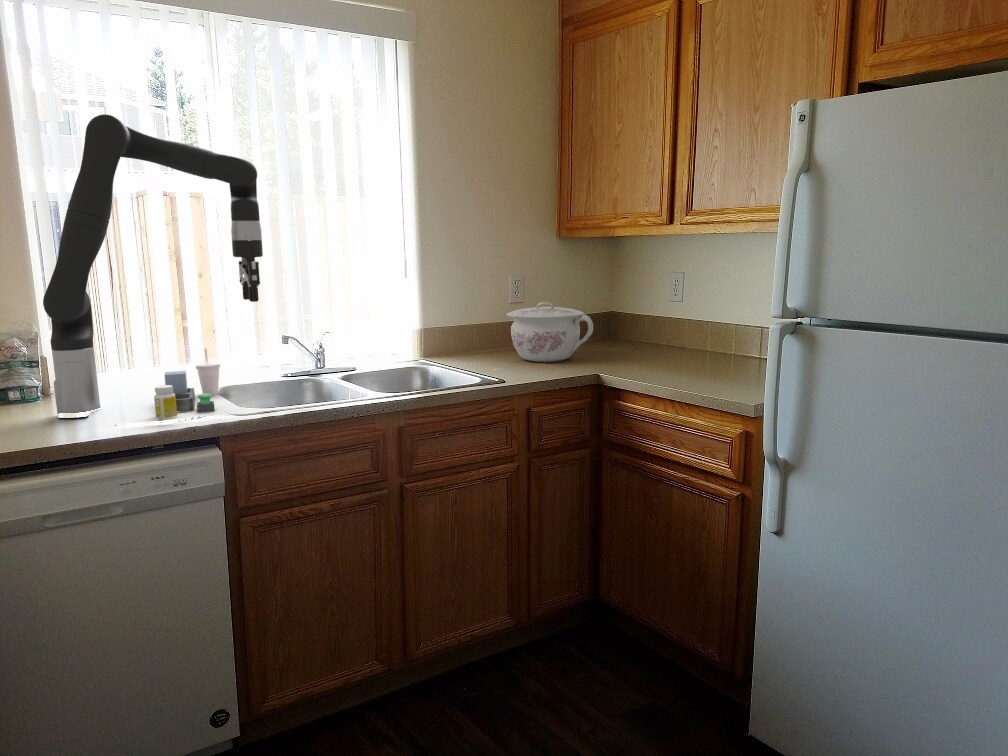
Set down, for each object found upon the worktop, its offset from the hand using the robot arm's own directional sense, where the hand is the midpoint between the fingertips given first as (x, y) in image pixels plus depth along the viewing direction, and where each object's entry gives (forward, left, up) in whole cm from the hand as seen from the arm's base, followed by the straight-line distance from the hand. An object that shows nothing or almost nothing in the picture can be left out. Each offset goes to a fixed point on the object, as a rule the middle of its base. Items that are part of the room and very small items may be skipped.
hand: (250, 300), depth 202 cm
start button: (-13, -12, -27) cm, 33 cm away
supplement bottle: (-22, -15, -28) cm, 38 cm away
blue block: (-20, +1, -26) cm, 33 cm away
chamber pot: (+100, +32, -28) cm, 108 cm away
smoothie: (-12, +10, -28) cm, 32 cm away
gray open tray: (-20, -3, -27) cm, 34 cm away
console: (-13, -12, -27) cm, 33 cm away
